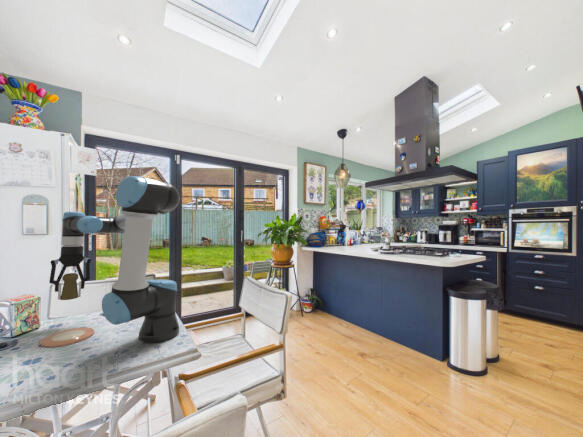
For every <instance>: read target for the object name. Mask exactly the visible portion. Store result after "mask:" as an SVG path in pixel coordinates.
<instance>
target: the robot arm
mask: <svg viewBox="0 0 583 437" xmlns="http://www.w3.org/2000/svg"><path fill="white" fill-rule="evenodd" d="M114 197H115V200H116V201H115V202H116V204H117V205H118V206H119V207H120V208H121V212H122V213H121V214H120V215H116V216H115V217H113V216H111V217H110V216H109V217H108V216H94V215H86V213H84V212H83V211H82V212H81V211H79V212H78V211H65V212H63V217H62V219H61V220H62V229H61V242H60V245H61V247H60V257H59V258H57V259H52V260H51V261H50V265H51V269H50V277H49V284H51V285H52V284H54V292H57V300H59V301H60V298H61V294H62V283H61V280H62V279H63V276H64V275H65V274H64V273H65V271H66V269H67V268H70V267H73V268H74V267H75V268H76V270H77V274H78V277H79V278H80V279H79V280H80V281H79V282H78V298H81V293H82V289H83V290H84V289H85V282H86V281H89V280H91V279H90V278H91V275H90V274H91V271H90V270H91V269H90V268H91V267H90V266H91V265H90V264H91V262H92V259H91V258H90V257H89V258H88V257H85V256H84V246H83V245H85V234H123V238H122V243H121V244H122V247H121V253H120V263H119V270H118V277H117V281H116V282H115V283H113V284H112V285H111V292H108V293H107V294H104V296H103V297H102V299H101V300H102V301H101V310H102V314H103V316H104V318H105V319H106V321H107V322H108V323H110V324H112V325H120V324H121V325H122V324H126V323H128V322H130V321H134V320H138V319H140V318H143V319H144V320H143V322H142V323H141V327H140V329H139V331H138V340H139V341H140V342H142V343H147V344H152V343H161V342H166V341H168V340H171V339H173V338H175V337H176V336H178V334H179V333H180V324H179V322H178V318H177V314H176V310H177V296H178V283H177V282H176V281H174V280H171V279H163V278H162V279H160V278H159V279H148V280H146V277H147V276H146V275H147V269H148V268H147V266H148V262H149V261H148V259H149V253H150V252H149V251H150V244H151V243H150V242H151V235H152V229H153V228H152V226H153V220H154V219H155V218H156V217H157V216H159V215H165V214H168V213H170V212H172V211H174V210H175V209H176V208H177V207H178V206H179V204H180V201H181V196H180V192H179V191H178V189H177V188H176V187H175V186H174V185H172V184H171V183H169V182H166V181H160V180H157V179H152V178H147V177H144V176H143V177H142V176H135V175H129V176H127V177H125V178H123V179H122V180H121V181H120V183H119V184H118V186H117V187H116V190H115V196H114ZM83 261H84V263H85V267H86V268H85V269H86V272H85V273H86V275H85V276H86V277H84V273H83V271H82V268H81V265H80V264H81V263H82V262H83ZM59 263H61V265H63V266H62V268H61V270H60V272H59V275H58V277H57V279H55V276H56V268H57V265H58V264H59Z"/></svg>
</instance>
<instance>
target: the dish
mask: <svg viewBox="0 0 583 437" xmlns="http://www.w3.org/2000/svg"><path fill="white" fill-rule="evenodd" d="M94 334H95V330H94V328H92V327H89V326H88V327H87V326H86V327H85V326H84V327H72V328H68V329H63V330H59V331H55V332H53V333H50V334H48V335H46V336H44V337H42V338H41V339H40V341H39V346H41V347H43V348H59V347H64V346H69V345H73V344H74V345H75V344H77V343H79V342H82V341H83V342H84V341H85V340H88V339H90V338H91V337H92V336H94Z"/></svg>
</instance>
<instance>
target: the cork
mask: <svg viewBox="0 0 583 437" xmlns="http://www.w3.org/2000/svg"><path fill="white" fill-rule="evenodd" d="M78 279H79V274H78V273H76V272H75V273H74V272H70V273H65V274H63V276H62V281H63V285H62V288H61V298H60V299H59V301H69V300H75V299H78V298H79V297H78V292H79V289H78V282H77V281H78Z"/></svg>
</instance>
